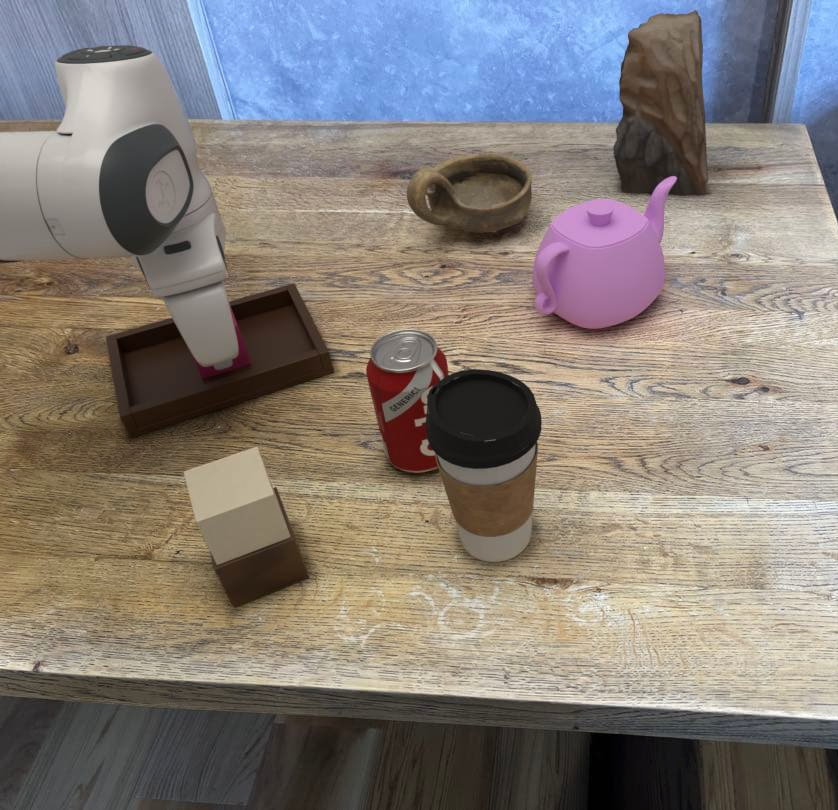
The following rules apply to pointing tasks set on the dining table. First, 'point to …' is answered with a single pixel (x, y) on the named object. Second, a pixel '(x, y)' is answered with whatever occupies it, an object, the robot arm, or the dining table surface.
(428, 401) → the coffee cup
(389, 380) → the soda can
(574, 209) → the teapot
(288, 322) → the tray
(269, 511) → the cream block
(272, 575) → the walnut block
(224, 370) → the pink block
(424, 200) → the bowl
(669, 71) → the brown rock
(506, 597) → the dining table surface
